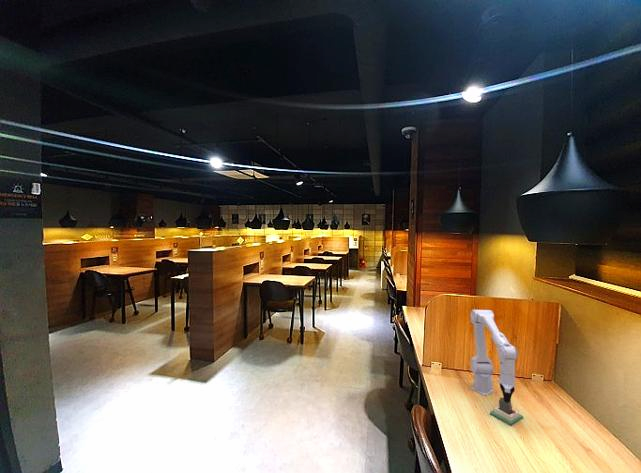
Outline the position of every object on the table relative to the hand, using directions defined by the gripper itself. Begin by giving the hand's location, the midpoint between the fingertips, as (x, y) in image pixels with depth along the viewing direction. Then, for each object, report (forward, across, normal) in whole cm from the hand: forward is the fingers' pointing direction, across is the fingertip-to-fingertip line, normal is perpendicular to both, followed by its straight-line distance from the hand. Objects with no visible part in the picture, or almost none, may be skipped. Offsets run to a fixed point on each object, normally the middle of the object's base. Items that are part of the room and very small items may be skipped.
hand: (507, 401), depth 128 cm
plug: (+6, 0, 0) cm, 6 cm away
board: (+7, 0, 0) cm, 7 cm away
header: (+7, 0, 0) cm, 7 cm away
